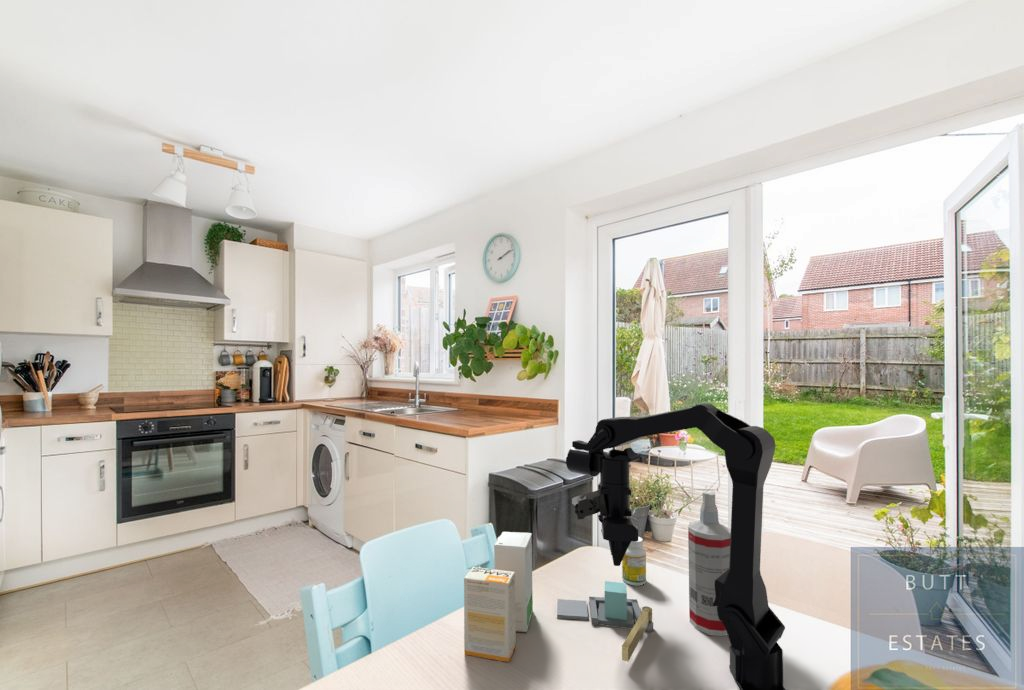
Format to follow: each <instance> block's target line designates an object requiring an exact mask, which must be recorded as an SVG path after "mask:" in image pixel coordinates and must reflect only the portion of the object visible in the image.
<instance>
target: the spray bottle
mask: <svg viewBox="0 0 1024 690" xmlns="http://www.w3.org/2000/svg"><path fill="white" fill-rule="evenodd" d="M699 516H700V517H699V520H696V521H693V522H689V523H688V526H687V528H688V529H687V530H688V531H687V533H688V536H687V538H688V540H687V541H688V542H687V543H688V544H687V545H688V594H689V595H688V596H689V597H688V600H689V603H688V606H689V615H688V616H689V623H690V624H691V625H692V626H693V627H694V628H695V629H696V630H698V631H700V632H702V633H704V634H706V635H708V636H718V637H724V636H728V634H727V631H726V628H725V626H724V625H723V623H722V622H721V621H720V620H719V618H718V615H717V606H713V603H714V601H715V597H716V595H715V580H716V579H717V578H718V577H719V576H721V575H722V574H723V573H724V572H725V571H727V570H728V569H729V561H730V537H731V527H730V528H729V527H728V526H726V525H724V524H722V523H720V522H719V510H718V507H717V505H716V492H714V491H702V504H701V505H700V512H699Z"/></svg>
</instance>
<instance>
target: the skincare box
mask: <svg viewBox="0 0 1024 690" xmlns="http://www.w3.org/2000/svg"><path fill="white" fill-rule="evenodd" d="M532 535H533V533H532V532H519V531H517V532H516V531H512V532H511V531H502V532H501V534H500V535H499V536H498V537H497V540H496V542H494V543H495V544H494V545H493V547H494V548H493V549H494V551H493V552H494V553H493V554H494V555H493V556H494V559H493V560H494V561H493V563H494V565H493V566H494V569H495V570H503V571H512V572H515V632H519V633H527V631H528V628H529V624H530V621H531V619H532V618H531V617H532V615H533V608H534V607H533V604H534V603H533V602H534V601H533V598H534V597H533V545H532V543H533V542H532Z"/></svg>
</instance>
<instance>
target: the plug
mask: <svg viewBox="0 0 1024 690" xmlns="http://www.w3.org/2000/svg"><path fill="white" fill-rule="evenodd" d="M604 598H605V603H601V602H599V606H598V613H597V615H598V625H599V626H607V627H614V628H624V629H629V630H632V628H633V627H634V625H635V624H634V623H635V622H634V613H633V609H632V606H627V599H628V590H627V583H626V582H617V581H610V580H609V581H608V580H605V581H604ZM598 625H597V626H598Z"/></svg>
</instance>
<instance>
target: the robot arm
mask: <svg viewBox="0 0 1024 690" xmlns="http://www.w3.org/2000/svg"><path fill="white" fill-rule="evenodd" d="M694 428H696V429H697V430H699V431H700V432H701V433H703V434H704V435H705V437H707V439H709V441H711V442H712V444H714V445H715V446H717V447H718V448H720V449H721V450H723V453H724V459H725V465H726V468H727V471H728V474H729V477H730V480H731V482H732V488H731V489H732V492H731V497H732V498H731V514H730V515H731V517H730V529H731V537H730V561H729V569H728V570H727V571H725V572H724V573H723V574H722V575H721V576H719V577H718V578H717V579H716V580H715V595H716V597H715V601H714V603H713V606H717V615H718V618H719V620H720V621H721V622H722V623H723V625H724V626H725V628H726V631H727V634H728V635H727V636H728V639H729V640H728V641H729V643H730V646H729V665H728V666H729V672H730V674H731V676H732V678H733V679H734V681H735V682H736V683H737V684H738V687H739V688H740V690H786V688H785V687H784V660H783V659H784V658H783V657H784V656H783V655H784V654H783V653H784V652H783V651H784V650H783V648H782V647H781V646H780V644H779V643H778V641H779V640H780V639H781V638H782V636H783V634H784V631H785V629H786V626H785V625H784V623H783V622H782V621H781V620H780V619H779V617H778V616H777V615H776V613H775V612H774V611H773V609H772V608H771V607H770V606H769V600H768V593H767V588H766V584H765V582H764V580H763V576H762V574H761V555H762V554H761V551H762V532H763V531H762V527H763V526H762V525H763V508H764V507H763V504H764V485H765V483H766V479H767V477H768V475H769V472H770V470H771V467H772V465H773V464H772V463H773V459H774V455H775V451H776V441H775V437H774V436H773V435H772V434H771V433H770V432H769V431H768V430H766V429H765V428H763V427H761V426H758V425H750V424H748V423H747V422H745V421H743V420H741V419H739V418H738V417H735V416H733V415H730V414H728V413H727V412H725V411H722V410H721V409H720V408H717V406H715V405H713V404H712V403H708V402H707V403H704V402H703V403H697V404H694V405H692V406H689V407H685V408H680V409H675V410H671V411H666V412H661V413H656V414H652V415H647V416H617V417H610V418H603V419H601V420H599V421H598V422H597V424H596V427H595V431H594V432H593V435H592V436H591V437H590V439H589V441H587V442H586V441H583V440H579V439H578V440H577V439H576V440H573V441H572V445H571V447H570V449H569V450H568V452H567V455H566V458H565V465H566V467H567V469H568V471H570V472H571V473H575V474H579V475H585V476H587V477H588V476H590V477H597V476H598V475H600V476H599V477H600V479H599V484H597V490H595V491H594V490H593V491H589V492H586V493H584V494H580V495H577V496H574V497H573V498H572V499H571V505H572V507H573V511H574V514H575V516H576V519H577V520H584V519H585V518H586V517H589V516H593V515H595V514H598V513H599V514H598V515H597V518H598V521H599V522H600V523H601V529H600V530H601V536H602V538H603V539H602V540H605V541H608V545H609V551H610V555H611V556H612V557H611V558H612V562H613V566H615V567H620V566H621V565H622V560H623V557H624V555H625V553H626V551H627V549H628V547H629V545H630V543H631V541H632V542H636V541H638V537H639V529H638V527H637V525H636V523H635V522H634V521H633V519H631V518H628V517H632V510H631V506H630V505H631V502H630V500H631V499H630V496H632V489H631V487H630V483H631V482H630V463H633V462H635V461H638V460H640V458H641V457H640V456H639V455H638V453H636V452H635V451H634V450H633V448H632V447H628V448H624V449H623V450H620V449H615V448H617V447H618V448H619V447H622V446H626V445H629V444H631V443H634V442H637V441H640V440H642V439H643V438H646V437H649V436H654V435H660V434H666V433H672V432H677V431H683V430H689V429H694ZM608 449H610V450H608ZM604 450H608V452H607V451H604Z"/></svg>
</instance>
